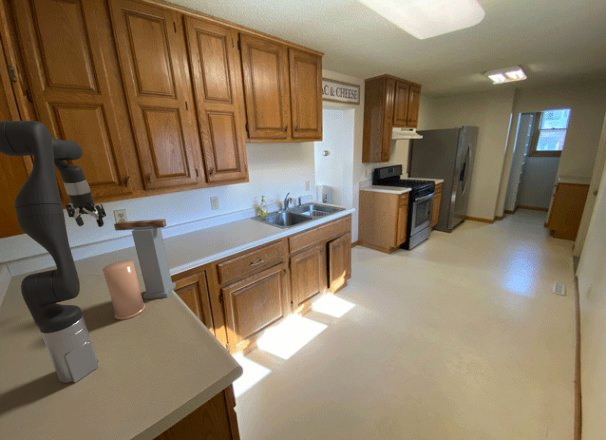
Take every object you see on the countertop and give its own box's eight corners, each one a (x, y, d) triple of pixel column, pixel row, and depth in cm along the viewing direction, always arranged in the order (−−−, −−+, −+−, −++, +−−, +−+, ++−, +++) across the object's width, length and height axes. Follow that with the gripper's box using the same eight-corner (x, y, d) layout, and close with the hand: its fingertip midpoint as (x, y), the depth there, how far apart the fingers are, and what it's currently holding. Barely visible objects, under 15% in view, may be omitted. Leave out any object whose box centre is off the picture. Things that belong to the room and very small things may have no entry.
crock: (150, 307, 109) (140, 262, 103) (125, 322, 99) (111, 274, 94) (135, 301, 113) (124, 258, 107) (109, 316, 104) (95, 269, 98)
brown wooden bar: (166, 225, 113) (165, 219, 112) (163, 227, 110) (162, 220, 110) (119, 228, 112) (118, 222, 111) (115, 230, 109) (113, 223, 108)
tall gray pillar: (175, 285, 125) (162, 221, 116) (167, 297, 116) (152, 228, 107) (154, 287, 125) (140, 223, 116) (144, 299, 115) (127, 229, 106)
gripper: (53, 193, 102) (68, 229, 109) (89, 195, 102) (101, 230, 110) (68, 187, 109) (81, 221, 116) (102, 188, 109) (113, 222, 116)
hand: (91, 225), depth 113 cm, fingers open, 8 cm apart
